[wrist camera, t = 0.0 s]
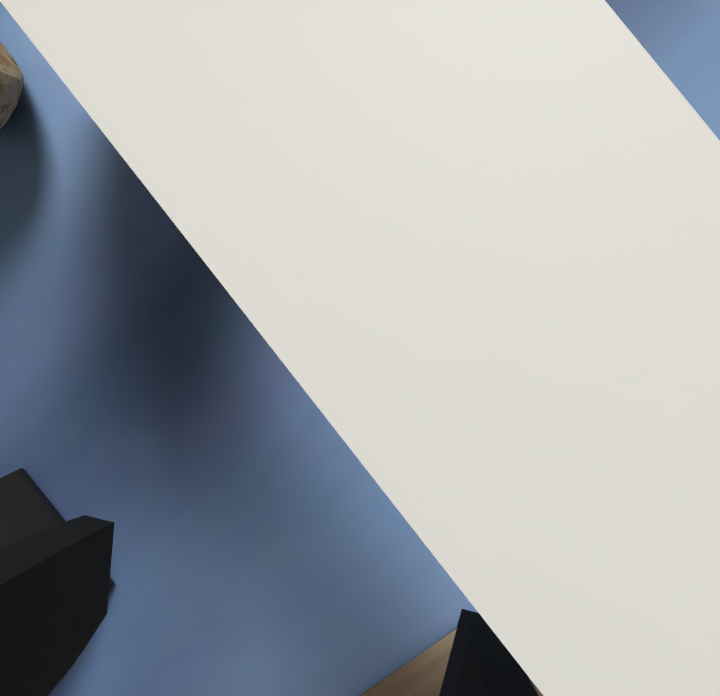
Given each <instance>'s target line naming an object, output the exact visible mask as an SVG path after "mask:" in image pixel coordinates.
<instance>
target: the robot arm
mask: <svg viewBox="0 0 720 696" xmlns="http://www.w3.org/2000/svg"><path fill="white" fill-rule="evenodd" d="M113 531H114V522H110V521H106V520H102V519H98V518H94V517H90V516H85V515H84V516H81V517H78V518H75V519H72V520H69V521H67V522H64V523H62V524H59V525H56V526H54V527H51V528H49V529H46V530H44V531H41V532H39V533H37V534H34V535H32V536H29V537H27V538H24V539H22V540H19V541H17V542H15V543H12V544H10V545H7V546H5V547H2V548H0V696H48V695H49V693H50V692H51V691H52V690H53V689H54V687H55V686H56V685H57V684H58V683H59V681H60V680H61V679H62V678H63V676H64V675H65V674H66V673H67V672H68V670H69V669H70V668H71V667H72V665H73V664H74V662H75V661H76V659H77V658H78V657H79V655H80V654H81V652H82V651H83V649H84V648H85V646H86V645H87V643H88V642H89V640H90V639H91V637H92V636H93V634H94V633H95V631H96V630H97V628H98V626H99V625H100V623H101V622H102V620H103V619H104V617H105V616H106V614H107V604H108V592H109V580H110V568H111V556H112V543H113ZM439 696H539V695H538V693H537V691H536V689H535V688H534V686H533V684H532V682H531V680H530V679H529V677H528V675H527V674H526V673H525V671H524V670H523V669H522V668H521V666H520V665H519V664H518V663H517V661H516V660H515V659H514V657H513V656H512V655H511V654H510V652H509V651H508V650H507V648H506V647H505V646H504V645H503V643H502V642H501V641H500V640H499V638H498V637H497V636H496V634H495V633H494V632H493V631H492V629H491V628H490V627H489V625H488V624H487V623H486V622H485V620H484V619H483V618H482V616H481V615H480V614H479V613H476V612H472V611H468V610H464V609H462V611H461V615H460V618H459V622H458V626H457V630H456V634H455V637H454V641H453V645H452V649H451V652H450V656H449V660H448V664H447V668H446V671H445V675H444V679H443V683H442V686H441V690H440V694H439Z"/></svg>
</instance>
